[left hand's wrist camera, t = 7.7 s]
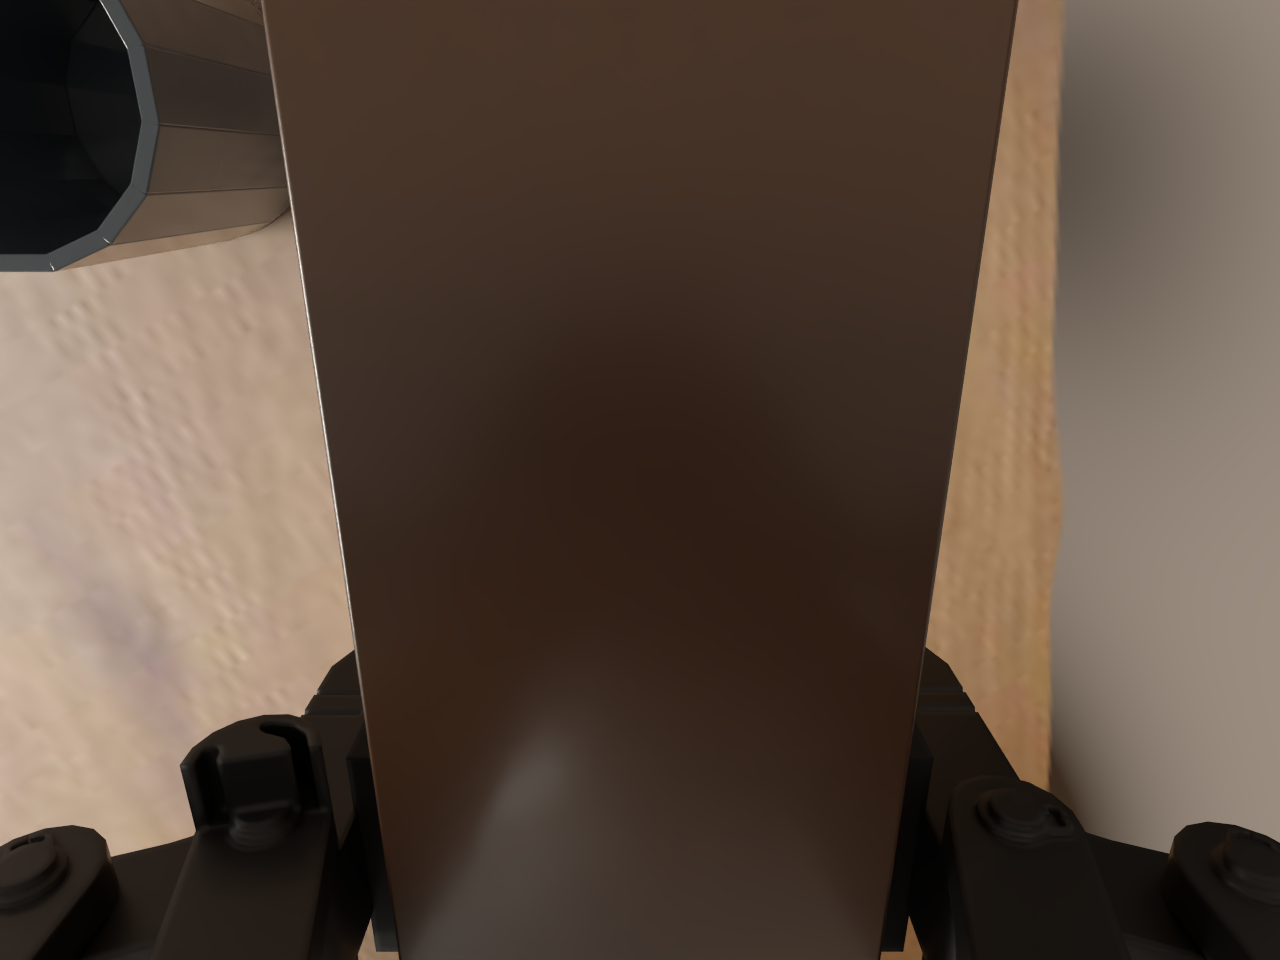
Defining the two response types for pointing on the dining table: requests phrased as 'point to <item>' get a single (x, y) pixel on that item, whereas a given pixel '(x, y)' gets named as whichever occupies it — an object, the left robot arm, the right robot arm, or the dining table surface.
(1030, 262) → the dining table surface
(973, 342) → the dining table surface
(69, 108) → the cup
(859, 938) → the bar
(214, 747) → the left robot arm
